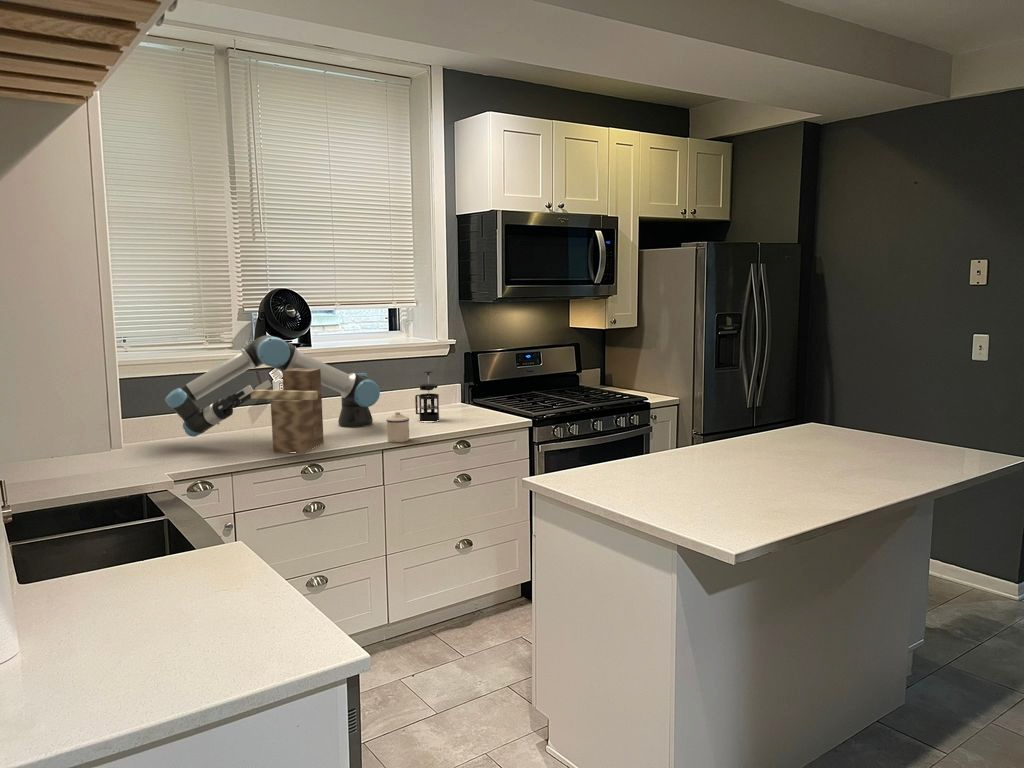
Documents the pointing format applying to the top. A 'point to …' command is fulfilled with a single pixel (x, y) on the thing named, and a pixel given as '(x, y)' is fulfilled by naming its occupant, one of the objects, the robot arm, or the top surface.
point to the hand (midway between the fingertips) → (260, 385)
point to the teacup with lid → (398, 428)
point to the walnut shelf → (298, 413)
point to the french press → (426, 415)
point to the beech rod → (284, 394)
